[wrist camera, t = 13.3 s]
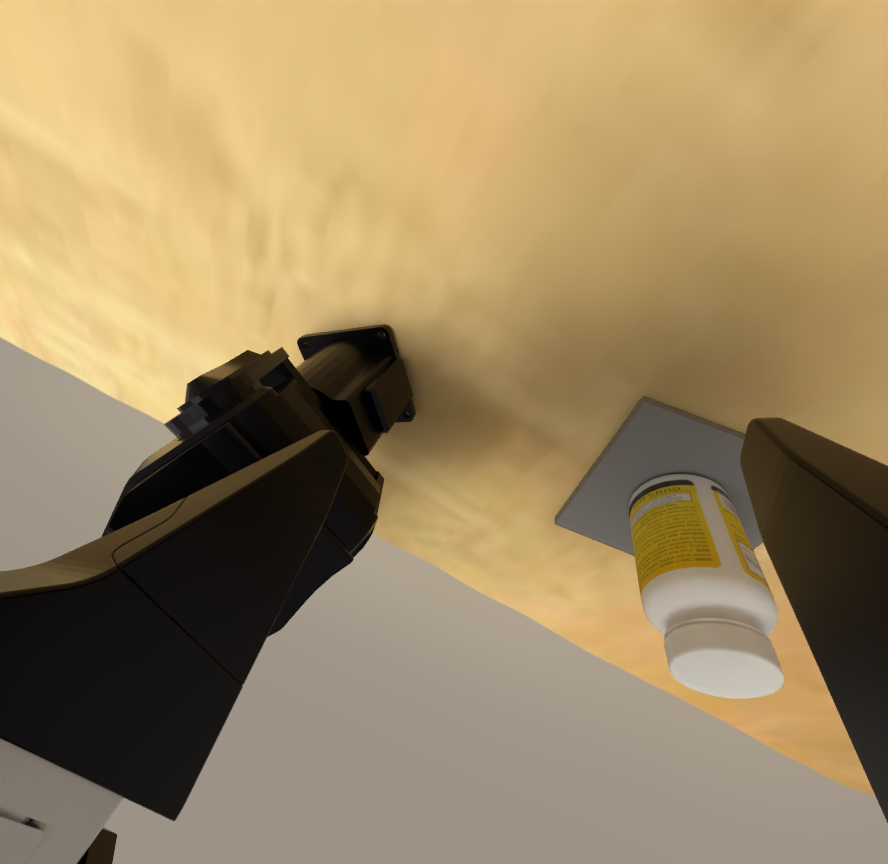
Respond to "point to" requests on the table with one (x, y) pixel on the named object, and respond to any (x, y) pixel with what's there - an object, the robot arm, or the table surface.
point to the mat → (655, 471)
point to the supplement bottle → (704, 588)
